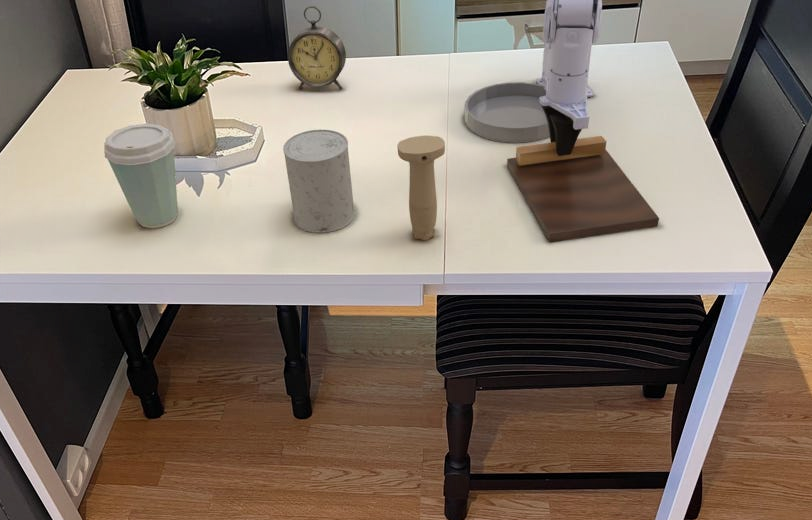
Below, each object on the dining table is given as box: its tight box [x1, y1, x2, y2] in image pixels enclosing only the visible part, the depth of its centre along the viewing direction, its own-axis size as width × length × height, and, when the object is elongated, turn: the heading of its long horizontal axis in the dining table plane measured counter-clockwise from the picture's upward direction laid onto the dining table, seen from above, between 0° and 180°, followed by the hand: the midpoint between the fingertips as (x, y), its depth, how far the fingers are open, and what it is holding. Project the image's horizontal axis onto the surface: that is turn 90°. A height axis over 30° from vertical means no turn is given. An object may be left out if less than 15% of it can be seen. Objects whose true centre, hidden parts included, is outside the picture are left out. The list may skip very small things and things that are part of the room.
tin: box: [464, 81, 550, 144], centre depth 141 cm, size 18×18×3 cm
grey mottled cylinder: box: [282, 129, 356, 234], centre depth 119 cm, size 10×10×12 cm
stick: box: [515, 135, 607, 166], centre depth 126 cm, size 2×14×2 cm, turn 97°
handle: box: [397, 135, 446, 242], centre depth 112 cm, size 5×6×15 cm
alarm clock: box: [287, 5, 347, 90], centre depth 154 cm, size 11×5×16 cm, turn 77°
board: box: [506, 148, 660, 243], centre depth 121 cm, size 22×16×2 cm
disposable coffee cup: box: [103, 123, 179, 229], centre depth 122 cm, size 11×11×15 cm
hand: (561, 149), depth 126 cm, fingers closed on stick, 2 cm apart
